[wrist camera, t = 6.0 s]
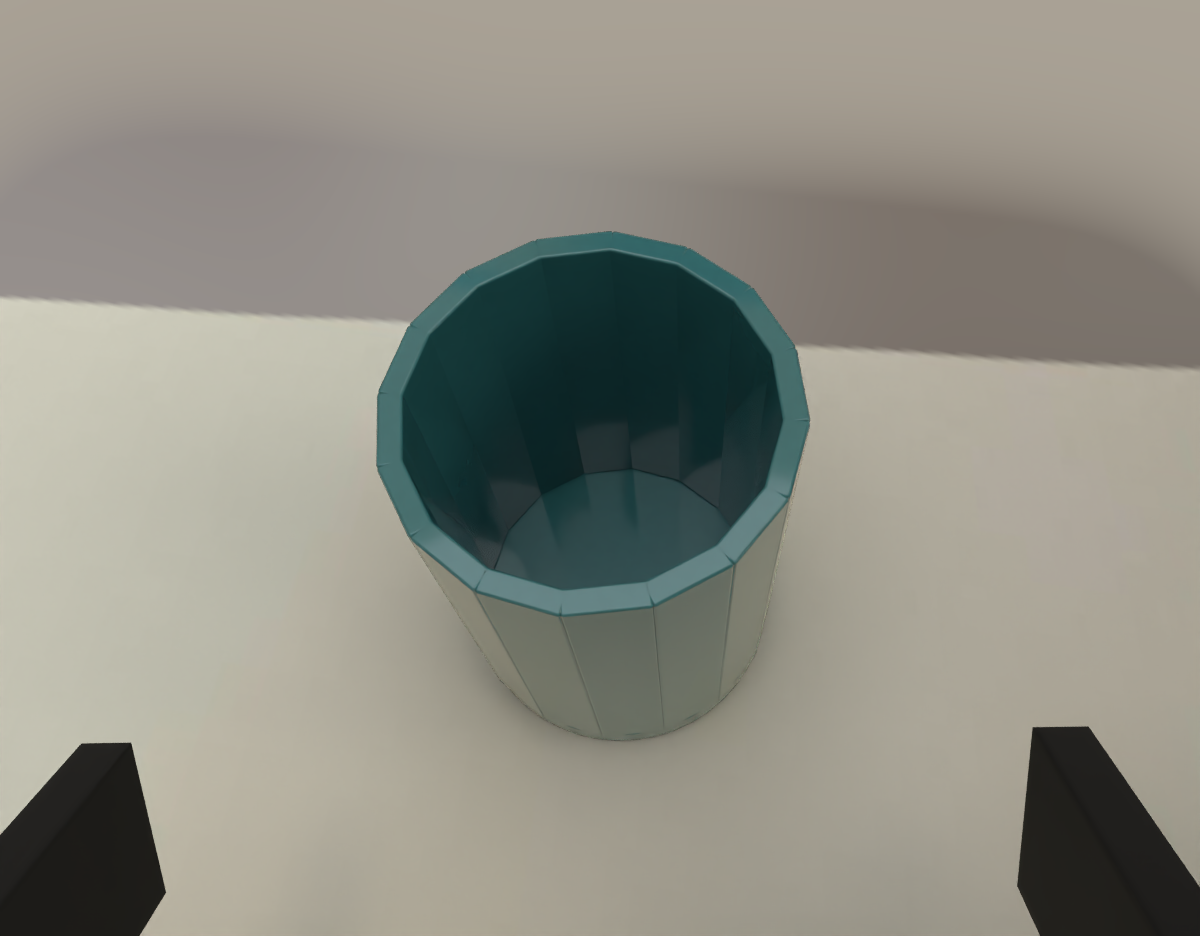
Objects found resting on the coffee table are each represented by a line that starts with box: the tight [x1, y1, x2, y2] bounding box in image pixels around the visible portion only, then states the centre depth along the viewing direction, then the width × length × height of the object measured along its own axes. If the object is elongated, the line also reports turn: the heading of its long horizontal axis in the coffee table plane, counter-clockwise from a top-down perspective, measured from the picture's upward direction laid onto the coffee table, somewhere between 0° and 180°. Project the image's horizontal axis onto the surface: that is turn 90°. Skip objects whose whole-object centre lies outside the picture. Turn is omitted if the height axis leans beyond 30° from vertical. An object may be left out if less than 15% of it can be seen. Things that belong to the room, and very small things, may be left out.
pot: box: [376, 231, 810, 740], centre depth 24 cm, size 8×8×11 cm
